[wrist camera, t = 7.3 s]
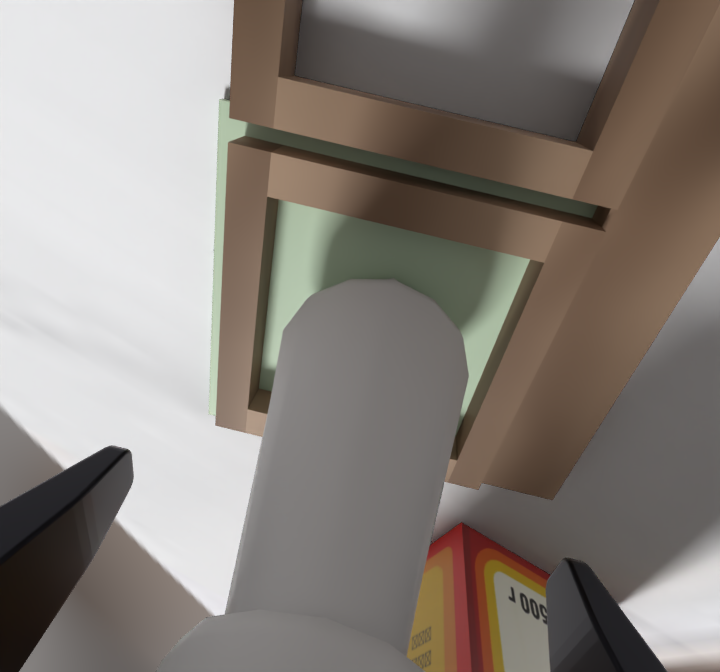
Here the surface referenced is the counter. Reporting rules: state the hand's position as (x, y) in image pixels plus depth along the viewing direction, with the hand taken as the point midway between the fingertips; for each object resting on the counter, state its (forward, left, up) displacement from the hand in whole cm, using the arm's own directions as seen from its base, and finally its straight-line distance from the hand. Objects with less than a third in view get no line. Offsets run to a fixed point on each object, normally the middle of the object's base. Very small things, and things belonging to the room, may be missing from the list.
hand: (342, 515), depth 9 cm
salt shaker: (0, 0, -8) cm, 8 cm away
